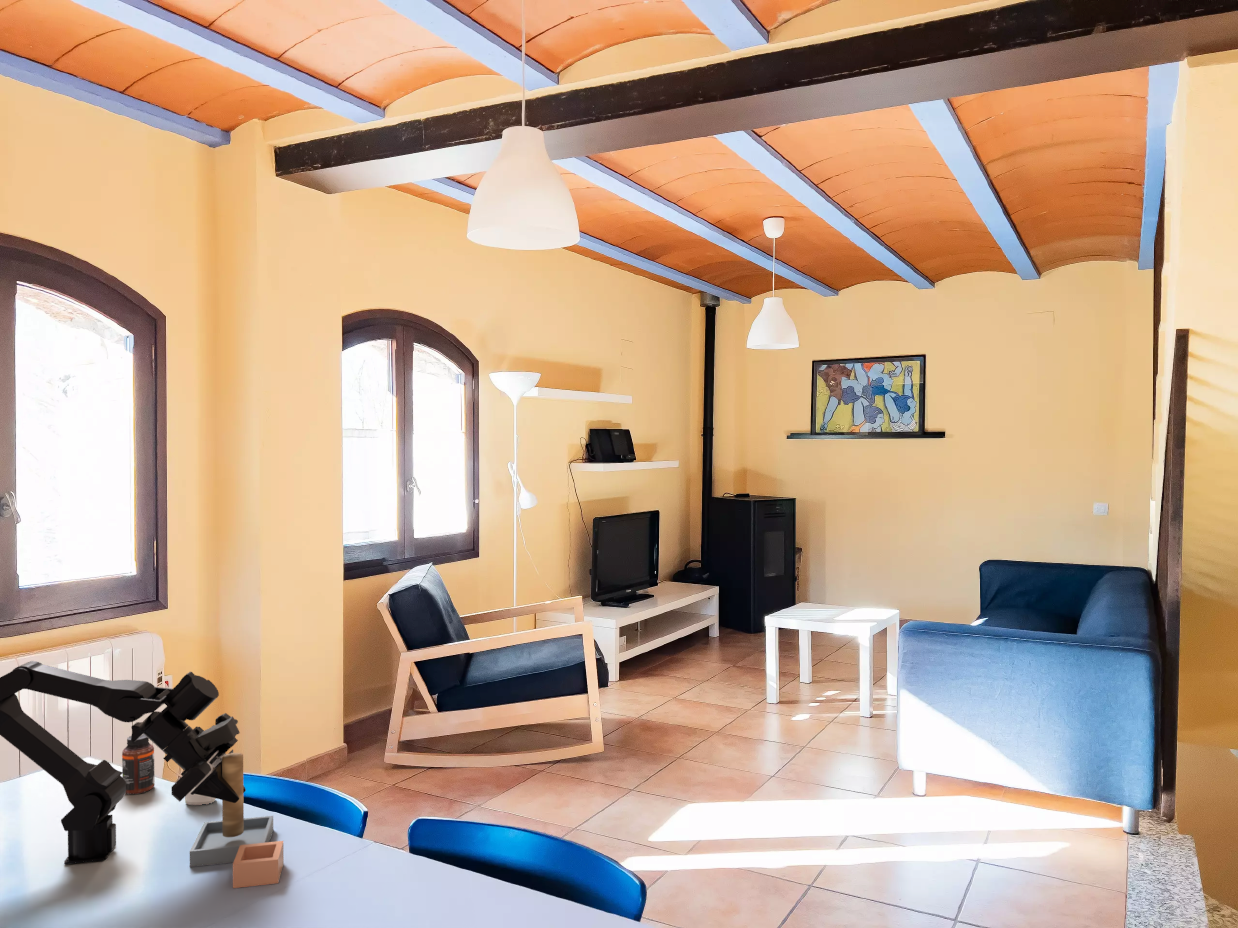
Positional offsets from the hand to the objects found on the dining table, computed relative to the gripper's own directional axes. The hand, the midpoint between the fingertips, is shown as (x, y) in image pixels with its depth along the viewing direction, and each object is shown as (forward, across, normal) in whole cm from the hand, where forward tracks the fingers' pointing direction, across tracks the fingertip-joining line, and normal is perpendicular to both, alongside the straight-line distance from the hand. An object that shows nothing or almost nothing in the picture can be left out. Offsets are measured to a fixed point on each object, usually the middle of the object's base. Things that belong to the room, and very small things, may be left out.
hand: (240, 796), depth 159 cm
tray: (+6, 0, +8) cm, 9 cm away
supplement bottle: (-14, +30, +27) cm, 43 cm away
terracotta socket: (+11, -11, +2) cm, 16 cm away
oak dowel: (+4, 0, +6) cm, 7 cm away
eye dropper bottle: (-3, +22, +17) cm, 27 cm away
